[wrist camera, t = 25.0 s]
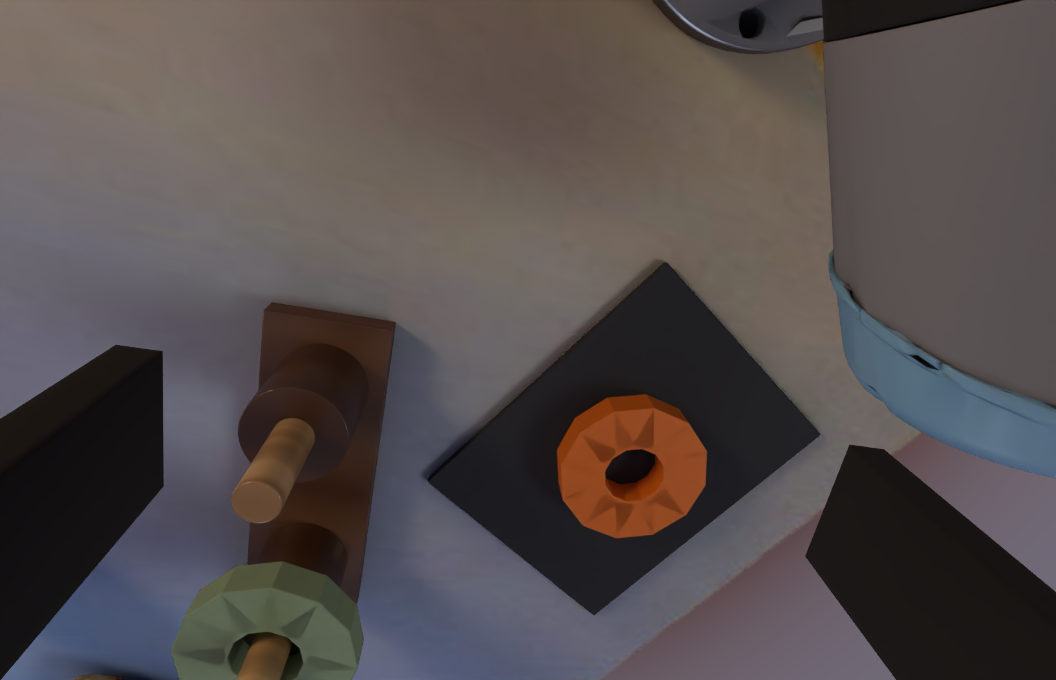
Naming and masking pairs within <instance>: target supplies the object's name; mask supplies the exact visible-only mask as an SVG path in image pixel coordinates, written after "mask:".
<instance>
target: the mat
mask: <svg viewBox="0 0 1056 680" xmlns="http://www.w3.org/2000/svg"><path fill="white" fill-rule="evenodd" d="M643 394H647V395H649V396H651V397H654V398H656V399H658V400H660V401H663V402H665V403H667V404H669V405H672V406H674V407H676V408H678V409H680V411H681V412H682V414H683V415H684V417H685V418H686V420H687V421H688V423H689V424H690V426H691V427H692V429H693V430H694V432H695V433H696V435H697V437H698V438H699V440H700V441H701V443H702V444H703V446H704V447H705V449H706V451H707V463H706V485H705V487H704V488H703V490H702V491H701V493H700V494H699V496H698V498H697V499H696V501H695V502H694V504H693V505H692V507H691V508H690V510H689V511H688V513H687V514H686V515H685V516H684V517H682V518H680V519H678V520H677V521H675V522H673V523H672V524H670V525H668V526H666V527H665V528H663V529H661V530H660V531H658V532H656V533H654V534H653V535H644V536H634V537H624V538H614V537H611V536H609V535H606V534H604V533H601V532H598V531H596V530H593V529H590V528H588V527H585V526H583V525H582V524H581V523H580V521H579V520H578V519H577V517H576V516H575V515H574V513H573V512H572V511H571V510H570V508H569V507H568V506H567V504H566V503H565V502H564V501H563V499H562V495H561V491H560V486H559V481H558V462H557V449H558V447H559V445H560V443H561V442H562V440H563V438H564V436H565V434H566V433H567V431H568V429H569V427H570V426H571V424H572V422H573V420H574V419H575V418H576V417H577V416H579V415H580V414H582V413H584V412H585V411H587V410H588V409H590V408H592V407H593V406H595V405H596V404H598V403H600V402H601V401H603V400H604V399H606V398H609V397H620V396H631V395H643ZM818 436H820V433H819V432H818V431H817V430H816V429H815V428H814V426H813V425H812V424H811V423H810V422H809V421H808V420H807V419H806V417H805V416H804V415H803V414H802V413H801V412H800V411H799V410H798V409H797V407H796V406H795V405H794V404H793V403H792V402H791V401H790V400H789V398H788V397H787V396H786V395H785V394H784V393H783V392H782V391H781V390H780V388H779V387H778V386H777V385H776V384H775V383H774V382H773V381H772V379H771V378H770V377H769V376H768V375H767V374H766V373H765V372H764V371H763V369H762V368H761V367H760V366H759V365H758V364H757V363H756V362H755V361H754V359H753V358H752V357H751V356H750V355H749V354H748V353H747V352H746V350H745V349H744V348H743V347H742V346H741V345H740V344H739V343H738V342H737V340H736V339H735V338H734V337H733V336H732V335H731V334H730V333H729V331H728V330H727V329H726V328H725V327H724V326H723V325H722V324H721V323H720V321H719V320H718V319H717V318H716V317H715V316H714V315H713V314H712V312H711V311H710V310H709V309H708V308H707V307H706V306H705V305H704V304H703V302H702V301H701V300H700V299H699V298H698V297H697V296H696V295H695V293H694V292H693V291H692V290H691V289H690V288H689V287H688V286H687V285H686V283H685V282H684V281H683V280H682V279H681V278H680V277H679V276H678V274H677V273H676V272H675V271H674V270H673V269H672V268H671V267H670V266H669V264H667V263H666V262H665V263H664V264H662V265H661V266H660V267H659V268H658V269H657V270H656V271H655V272H654V273H653V274H651V275H650V276H649V277H648V278H647V279H646V280H645V281H644V282H643V283H642V284H641V285H639V286H638V287H637V288H636V289H635V290H634V291H633V292H632V293H631V294H630V295H628V296H627V297H626V298H625V299H624V300H623V301H622V302H621V303H620V304H619V305H617V306H616V307H615V308H614V309H613V310H612V311H611V312H610V313H609V314H608V315H606V316H605V317H604V318H603V319H602V320H601V321H600V322H599V323H598V324H597V325H596V326H594V327H593V328H592V329H591V330H590V331H589V332H588V333H587V334H586V335H585V336H583V337H582V338H581V339H580V340H579V341H578V342H577V343H576V344H575V345H574V346H572V347H571V348H570V349H569V350H568V351H567V352H566V353H565V354H564V355H563V356H561V357H560V358H559V359H558V360H557V361H556V362H555V363H554V364H553V365H552V366H550V367H549V368H548V369H547V370H546V371H545V372H544V373H543V374H542V375H541V376H540V377H538V378H537V379H536V380H535V381H534V382H533V383H532V384H531V385H530V386H529V387H527V388H526V389H525V390H524V391H523V392H522V393H521V394H520V395H519V396H518V397H516V398H515V399H514V400H513V401H512V402H511V403H510V404H509V405H508V406H507V407H505V408H504V409H503V410H502V411H501V412H500V413H499V414H498V415H497V416H496V417H494V418H493V419H492V420H491V421H490V422H489V423H488V424H487V425H486V426H485V427H484V428H482V429H481V430H480V431H479V432H478V433H477V434H476V435H475V436H474V437H473V438H471V439H470V440H469V441H468V442H467V443H466V444H465V445H464V446H463V447H462V448H460V449H459V450H458V451H457V452H456V453H455V454H454V455H453V456H452V457H451V458H449V459H448V460H447V461H446V462H445V463H444V464H443V465H442V466H441V467H440V468H439V469H437V470H436V471H435V472H434V473H433V474H432V475H431V476H430V477H429V478H428V482H429V483H430V484H431V485H432V486H434V487H435V488H436V489H437V490H439V491H440V492H441V493H442V494H444V495H445V496H446V497H447V498H449V499H450V500H451V501H452V502H454V503H455V504H456V505H457V506H459V507H460V508H461V509H462V510H464V511H465V512H466V513H467V514H469V515H470V516H471V517H472V518H473V519H475V520H476V521H477V522H478V523H480V524H481V525H482V526H483V527H485V528H486V529H487V530H488V531H490V532H491V533H492V534H493V535H495V536H496V537H497V538H498V539H500V540H501V541H502V542H503V543H505V544H506V545H507V546H508V547H509V548H511V549H512V550H513V551H514V552H516V553H517V554H518V555H519V556H521V557H522V558H523V559H524V560H526V561H527V562H528V563H529V564H531V565H532V566H533V567H534V568H536V569H537V570H538V571H539V572H541V573H542V574H543V575H544V576H545V577H547V578H548V579H549V580H550V581H552V582H553V583H554V584H555V585H557V586H558V587H559V588H560V589H562V590H563V591H564V592H565V593H567V594H568V595H569V596H570V597H572V598H573V599H574V600H575V601H577V602H578V603H579V604H580V605H582V606H583V607H584V608H585V609H586V610H588V611H589V612H590V613H591V614H593V615H595V614H596V613H597V612H599V611H600V610H601V609H602V608H604V607H605V606H606V605H608V604H609V603H610V602H611V601H613V600H614V599H615V598H616V597H618V596H619V595H620V594H621V593H623V592H624V591H625V590H626V589H628V588H629V587H630V586H631V585H633V584H634V583H635V582H636V581H638V580H639V579H640V578H641V577H643V576H644V575H645V574H646V573H648V572H649V571H650V570H651V569H653V568H654V567H655V566H656V565H658V564H659V563H660V562H661V561H663V560H664V559H665V558H667V557H668V556H669V555H670V554H672V553H673V552H674V551H675V550H677V549H678V548H679V547H680V546H682V545H683V544H684V543H685V542H687V541H688V540H689V539H690V538H692V537H693V536H694V535H695V534H697V533H698V532H699V531H700V530H702V529H703V528H704V527H705V526H707V525H708V524H709V523H710V522H712V521H713V520H714V519H715V518H717V517H718V516H719V515H720V514H722V513H723V512H724V511H726V510H727V509H728V508H729V507H731V506H732V505H733V504H734V503H736V502H737V501H738V500H739V499H741V498H742V497H743V496H744V495H746V494H747V493H748V492H749V491H751V490H752V489H753V488H754V487H756V486H757V485H758V484H759V483H761V482H762V481H763V480H764V479H766V478H767V477H768V476H769V475H771V474H772V473H773V472H774V471H776V470H777V469H778V468H779V467H781V466H782V465H783V464H785V463H786V462H787V461H788V460H790V459H791V458H792V457H793V456H795V455H796V454H797V453H798V452H800V451H801V450H802V449H803V448H805V447H806V446H807V445H808V444H810V443H811V442H812V441H813V440H815V439H816V438H817V437H818ZM654 464H655V454H653V453H651V452H648V451H646V450H644V449H636V450H626V451H625V452H623V453H621V454H620V455H618V456H617V457H615V458H613V459H612V461H611V462H610V464H609V466H608V467H607V469H606V471H605V477H606V478H607V479H608V480H611V481H613V482H616V483H618V484H626V483H636V482H637V481H639V480H641V479H642V478H644V477H646V476H647V475H648V474H649V472H650V471H651V469H652V467H653V466H654Z"/></svg>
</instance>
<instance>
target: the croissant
mask: <svg viewBox="0 0 1056 680" xmlns="http://www.w3.org/2000/svg"><path fill="white" fill-rule="evenodd" d="M73 680H123V679H122V678H120V677H115V676H109V675H97V674H89V675H84V676H80V677H77V678H75V679H73Z"/></svg>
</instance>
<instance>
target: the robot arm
mask: <svg viewBox="0 0 1056 680" xmlns="http://www.w3.org/2000/svg"><path fill="white" fill-rule="evenodd" d="M653 2H654V3H655V5H656V6H657V7H658V8H659V9H660V10H661V11H662V12H663V14H664V15H665V16H666V17H667V18H668V19H670V20H671V21H672V22H673V23H674V24H675V25H676V26H677V27H679V28H680V29H682V30H683V31H684V32H686V33H687V34H689V35H690V36H692V37H694V38H696V39H697V40H699V41H701V42H703V43H706V44H708V45H710V46H713V47H716V48H719V49H723V50H726V51H731V52H737V53H747V54H762V53H773V52H779V51H784V50H789V49H794V48H799V47H802V46H806V45H810V44H813V43H815V42H818V41H821V40H823V39H824V40H823V41H826V42H823V55H824V74H825V93H826V112H827V132H828V151H829V170H830V189H831V208H832V228H833V247H834V249H833V251H832V252H831V253H830V254H829V263H828V267H829V274H830V280H831V282H832V284H833V287H834V289H835V291H836V293H837V300H838V309H839V317H840V325H841V333H842V342H843V348H844V352H845V356H846V358H847V361H848V363H849V366H850V368H851V370H852V371H853V373H854V374H855V376H856V378H857V379H858V381H859V382H860V383H861V384H862V386H863V387H864V388H865V389H866V390H867V391H868V392H870V393H871V394H872V395H873V396H874V397H875V398H877V399H879V400H881V401H882V402H884V403H885V405H886V406H887V407H888V409H889V410H890V412H892V413H893V414H894V415H895V416H897V417H898V418H900V419H901V420H902V421H904V422H906V423H907V424H909V425H911V426H912V427H914V428H916V429H918V430H919V431H921V432H923V433H925V434H927V435H929V436H931V437H932V438H934V439H936V440H938V441H941V442H943V443H945V444H947V445H949V446H952V447H954V448H957V449H959V450H961V451H964V452H966V453H969V454H972V455H974V456H977V457H980V458H983V459H986V460H989V461H992V462H995V463H998V464H1002V465H1005V466H1008V467H1012V468H1016V469H1019V470H1023V471H1027V472H1030V473H1035V474H1039V475H1044V476H1047V477H1052V478H1056V0H653ZM163 486H164V483H163V351H157V350H149V349H142V348H135V347H127V346H120V345H115V346H113V347H112V348H110V349H109V350H107V351H106V352H104V353H102V354H101V355H99V356H98V357H96V358H95V359H93V360H91V361H90V362H88V363H87V364H85V365H84V366H82V367H81V368H79V369H77V370H76V371H74V372H73V373H71V374H70V375H68V376H67V377H65V378H63V379H62V380H60V381H59V382H57V383H56V384H54V385H53V386H51V387H49V388H48V389H46V390H45V391H43V392H42V393H40V394H39V395H37V396H35V397H34V398H32V399H31V400H29V401H28V402H26V403H24V404H23V405H21V406H20V407H18V408H17V409H15V410H14V411H12V412H10V413H9V414H7V415H6V416H4V417H3V418H1V419H0V680H1V679H2V678H3V676H4V675H5V674H6V673H7V672H8V670H9V669H10V668H11V667H12V666H13V665H14V663H15V662H16V661H17V660H18V659H19V657H20V656H21V655H22V654H23V653H24V651H25V650H26V649H27V648H28V647H29V646H30V644H31V643H32V642H33V641H34V640H35V638H36V637H37V636H38V635H39V634H40V632H41V631H42V630H43V629H44V628H45V626H46V625H47V624H48V623H49V622H50V621H51V619H52V618H53V617H54V616H55V615H56V613H57V612H58V611H59V610H60V609H61V607H62V606H63V605H64V604H65V603H66V602H67V600H68V599H69V598H70V597H71V596H72V594H73V593H74V592H75V591H76V590H77V588H78V587H79V586H80V585H81V584H82V583H83V581H84V580H85V579H86V578H87V577H88V575H89V574H90V573H91V572H92V571H93V569H94V568H95V567H96V566H97V565H98V563H99V562H100V561H101V560H102V559H103V558H104V556H105V555H106V554H107V553H108V552H109V550H110V549H111V548H112V547H113V546H114V544H115V543H116V542H117V541H118V540H119V539H120V537H121V536H122V535H123V534H124V533H125V531H126V530H127V529H128V528H129V527H130V525H131V524H132V523H133V522H134V521H135V520H136V518H137V517H138V516H139V515H140V514H141V512H142V511H143V510H144V509H145V508H146V506H147V505H148V504H149V503H150V502H151V500H152V499H153V498H154V497H155V496H156V495H157V493H158V492H159V491H160V490H161V489H162V487H163ZM806 558H807V559H808V561H809V562H810V563H811V565H812V566H813V567H814V569H815V570H816V572H817V573H818V574H819V576H820V577H821V578H822V580H823V581H824V582H825V584H826V585H827V586H828V588H829V589H830V590H831V592H832V593H833V595H834V596H835V597H836V599H837V600H838V601H839V603H840V604H841V606H842V607H843V608H844V610H845V611H846V612H847V614H848V615H849V616H850V618H851V619H852V620H853V622H854V623H855V625H856V626H857V627H858V628H859V630H860V631H861V633H862V634H863V635H864V637H865V638H866V639H867V641H868V642H869V643H870V645H871V646H872V647H873V649H874V650H875V652H876V653H877V654H878V656H879V657H880V658H881V660H882V661H883V662H884V664H885V665H886V667H887V668H888V669H889V671H890V672H891V673H892V675H893V676H894V677H895V679H896V680H1056V592H1055V591H1054V590H1053V589H1051V588H1050V587H1049V586H1048V585H1046V584H1045V583H1044V582H1043V581H1042V580H1041V579H1039V578H1038V577H1037V576H1036V575H1034V574H1033V573H1032V572H1031V571H1030V570H1029V569H1027V568H1026V567H1025V566H1024V565H1022V564H1021V563H1020V562H1019V561H1018V560H1016V559H1015V558H1014V557H1013V556H1012V555H1010V554H1009V553H1008V552H1007V551H1006V550H1004V549H1003V548H1002V547H1001V546H1000V545H998V544H997V543H996V542H995V541H993V540H992V539H991V538H990V537H989V536H988V535H986V534H985V533H984V532H983V531H982V530H980V529H979V528H978V527H977V526H976V525H974V524H973V523H972V522H971V521H969V520H968V519H967V518H966V517H965V516H963V515H962V514H961V513H960V512H959V511H957V510H956V509H955V508H954V507H953V506H951V505H950V504H949V503H948V502H947V501H945V500H944V499H943V498H942V497H941V496H939V495H938V494H937V493H935V491H933V490H932V489H931V488H930V487H928V486H927V485H926V484H925V483H923V481H921V480H920V479H919V478H918V477H917V476H915V475H914V474H913V473H912V472H910V471H909V470H908V469H907V468H906V467H904V466H903V465H902V464H901V463H900V462H898V461H897V460H896V459H894V457H892V456H891V455H890V454H889V453H888V452H886V451H885V450H884V449H877V448H870V447H862V446H855V445H849V447H848V450H847V453H846V455H845V458H844V460H843V463H842V465H841V468H840V470H839V473H838V475H837V478H836V480H835V483H834V485H833V488H832V490H831V493H830V495H829V498H828V500H827V503H826V505H825V508H824V510H823V513H822V515H821V518H820V521H819V523H818V526H817V528H816V531H815V533H814V536H813V538H812V541H811V543H810V546H809V548H808V551H807V553H806Z"/></svg>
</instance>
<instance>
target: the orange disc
mask: <svg viewBox="0 0 1056 680" xmlns="http://www.w3.org/2000/svg"><path fill="white" fill-rule="evenodd" d="M636 449H644V450H646V451H648V452H651V453H653V454H655V464H654V466H653V467H652V469H651V471H650V472H649V474H648V475H647V476H646V477H644V478H642V479H641V480H639V481H637V482H636V483H626V484H618V483H616V482H613V481H611V480H608V479H607V478H606V477H605V471H606V469H607V467H608V466H609V464H610V462H611V461H612V459H613V458H615V457H617V456H618V455H620V454H621V453H623V452H625V451H626V450H636ZM557 462H558V481H559V486H560V491H561V495H562V499H563V501H564V502H565V503H566V504H567V506H568V507H569V508H570V510H571V511H572V512H573V513H574V515H575V516H576V517H577V519H578V520H579V521H580V523H581V524H582V525H583V526H585V527H588V528H590V529H593V530H596V531H598V532H601V533H604V534H606V535H609V536H611V537H614V538H624V537H634V536H644V535H653V534H654V533H656V532H658V531H660V530H661V529H663V528H665V527H666V526H668V525H670V524H672V523H673V522H675V521H677V520H678V519H680V518H682V517H684V516H685V515H686V514H687V513H688V511H689V510H690V508H691V507H692V505H693V504H694V502H695V501H696V499H697V498H698V496H699V494H700V493H701V491H702V490H703V488H704V487H705V485H706V463H707V451H706V449H705V447H704V446H703V444H702V443H701V441H700V440H699V438H698V437H697V435H696V433H695V432H694V430H693V429H692V427H691V426H690V424H689V423H688V421H687V420H686V418H685V417H684V415H683V414H682V412H681V411H680V409H678V408H676V407H674V406H672V405H669V404H667V403H665V402H663V401H660V400H658V399H656V398H654V397H651V396H649V395H647V394H643V395H631V396H620V397H609V398H606V399H604V400H603V401H601V402H600V403H598V404H596V405H595V406H593V407H592V408H590V409H588V410H587V411H585V412H584V413H582V414H580V415H579V416H577V417H576V418H575V419H574V420H573V422H572V424H571V426H570V427H569V429H568V431H567V433H566V434H565V436H564V438H563V440H562V442H561V443H560V445H559V447H558V449H557Z"/></svg>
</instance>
